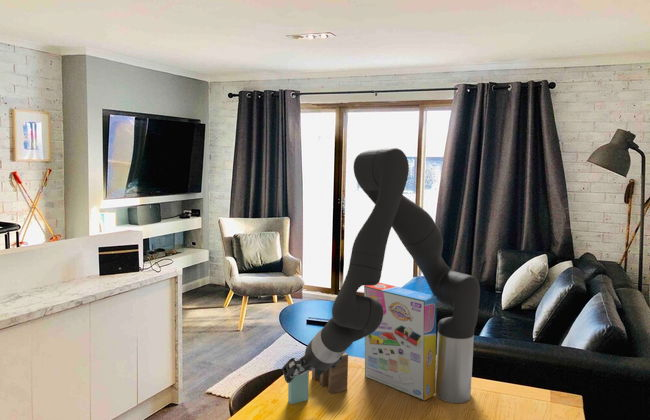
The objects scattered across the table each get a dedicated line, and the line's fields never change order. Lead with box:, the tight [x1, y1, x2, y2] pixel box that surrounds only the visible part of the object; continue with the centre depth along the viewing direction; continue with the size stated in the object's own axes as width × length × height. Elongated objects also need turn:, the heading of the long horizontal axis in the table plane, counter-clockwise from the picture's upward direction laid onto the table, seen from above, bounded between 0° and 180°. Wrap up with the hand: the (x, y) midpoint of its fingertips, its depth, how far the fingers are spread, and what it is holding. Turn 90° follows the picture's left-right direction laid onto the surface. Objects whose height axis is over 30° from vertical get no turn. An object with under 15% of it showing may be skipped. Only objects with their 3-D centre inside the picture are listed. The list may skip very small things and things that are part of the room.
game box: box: [363, 282, 438, 402], centre depth 142 cm, size 21×6×27 cm, turn 45°
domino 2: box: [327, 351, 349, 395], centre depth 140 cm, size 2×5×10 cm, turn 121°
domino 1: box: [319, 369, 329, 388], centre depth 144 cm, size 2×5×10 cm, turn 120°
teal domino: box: [287, 365, 310, 405], centre depth 134 cm, size 2×5×10 cm, turn 121°
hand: (302, 375), depth 131 cm, fingers open, 8 cm apart
